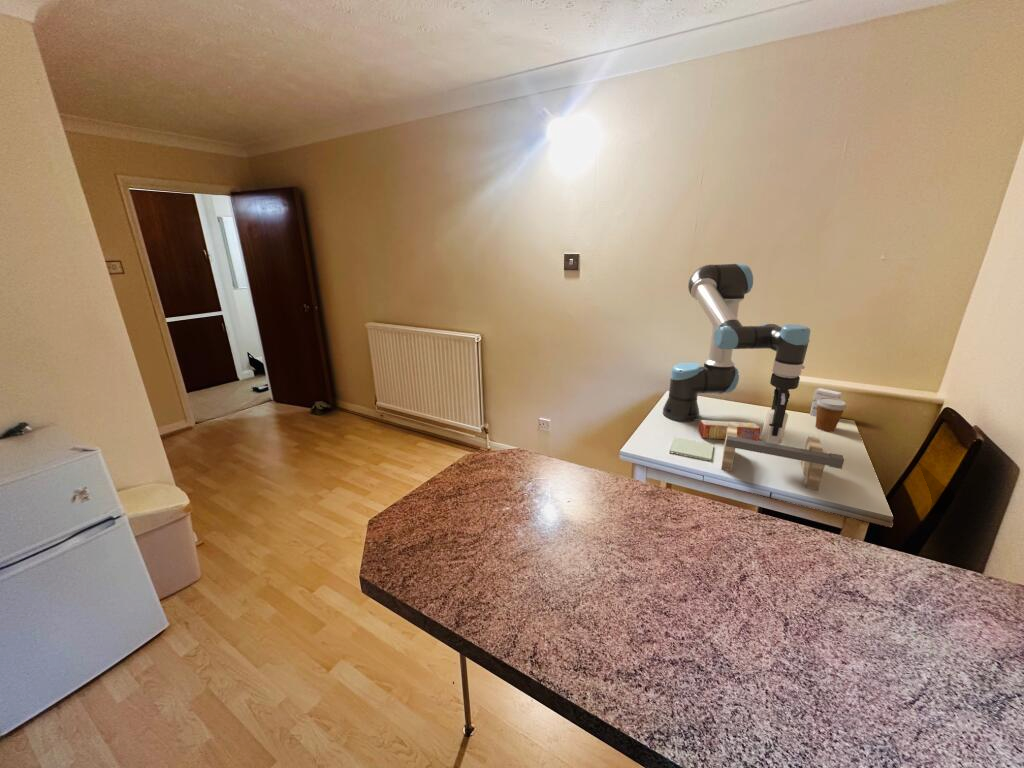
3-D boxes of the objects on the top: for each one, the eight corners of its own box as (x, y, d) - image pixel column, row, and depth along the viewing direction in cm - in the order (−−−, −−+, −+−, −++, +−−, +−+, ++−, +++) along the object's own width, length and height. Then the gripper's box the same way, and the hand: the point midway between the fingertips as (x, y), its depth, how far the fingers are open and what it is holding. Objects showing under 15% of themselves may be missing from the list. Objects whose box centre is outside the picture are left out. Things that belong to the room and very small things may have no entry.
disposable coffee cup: (814, 431, 162) (821, 404, 158) (808, 422, 170) (814, 395, 166) (843, 435, 158) (851, 407, 154) (835, 425, 167) (842, 398, 163)
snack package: (753, 435, 160) (756, 420, 158) (759, 443, 154) (763, 427, 152) (696, 432, 164) (698, 417, 162) (701, 440, 158) (703, 424, 155)
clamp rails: (723, 448, 150) (728, 422, 147) (811, 465, 138) (818, 437, 134) (721, 469, 137) (726, 441, 133) (818, 489, 124) (826, 459, 121)
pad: (674, 439, 158) (674, 436, 158) (713, 446, 152) (713, 444, 151) (669, 452, 148) (669, 450, 148) (710, 461, 142) (711, 458, 142)
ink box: (836, 417, 173) (843, 392, 169) (832, 420, 170) (839, 395, 167) (813, 411, 180) (819, 387, 176) (809, 414, 177) (815, 389, 173)
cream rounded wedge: (760, 434, 139) (766, 408, 136) (781, 438, 136) (787, 411, 133) (761, 442, 134) (767, 414, 131) (782, 445, 131) (789, 418, 128)
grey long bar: (725, 442, 132) (727, 434, 131) (839, 464, 118) (842, 455, 117) (725, 446, 130) (727, 438, 129) (841, 468, 116) (844, 459, 115)
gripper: (803, 385, 118) (786, 454, 126) (797, 367, 133) (782, 429, 141) (773, 381, 121) (759, 449, 129) (770, 364, 137) (758, 425, 145)
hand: (771, 439), depth 135 cm, fingers closed on cream rounded wedge, 6 cm apart
